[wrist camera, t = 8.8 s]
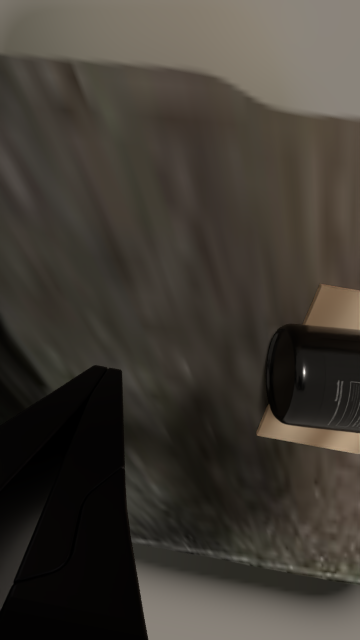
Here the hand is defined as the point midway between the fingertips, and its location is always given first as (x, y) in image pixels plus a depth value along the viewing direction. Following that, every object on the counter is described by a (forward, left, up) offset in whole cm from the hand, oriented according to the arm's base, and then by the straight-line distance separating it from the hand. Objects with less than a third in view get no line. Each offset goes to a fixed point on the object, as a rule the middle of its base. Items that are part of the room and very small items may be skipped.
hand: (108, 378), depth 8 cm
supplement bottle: (+9, -5, -9) cm, 14 cm away
